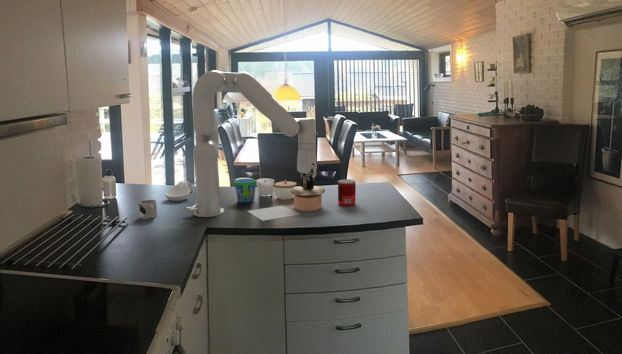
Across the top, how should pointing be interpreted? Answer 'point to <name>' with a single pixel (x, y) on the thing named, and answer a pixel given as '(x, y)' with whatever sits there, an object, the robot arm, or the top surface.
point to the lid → (304, 190)
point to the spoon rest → (179, 191)
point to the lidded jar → (284, 190)
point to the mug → (148, 209)
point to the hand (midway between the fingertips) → (307, 187)
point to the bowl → (307, 202)
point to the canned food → (346, 192)
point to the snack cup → (245, 190)
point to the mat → (273, 213)
